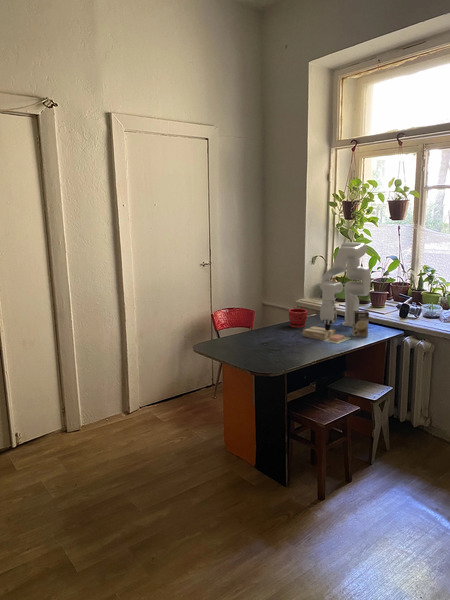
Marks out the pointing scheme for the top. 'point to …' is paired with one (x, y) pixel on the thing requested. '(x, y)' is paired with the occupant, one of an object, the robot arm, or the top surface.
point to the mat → (338, 341)
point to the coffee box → (360, 323)
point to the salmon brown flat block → (336, 338)
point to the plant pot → (297, 317)
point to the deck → (318, 333)
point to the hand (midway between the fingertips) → (327, 330)
